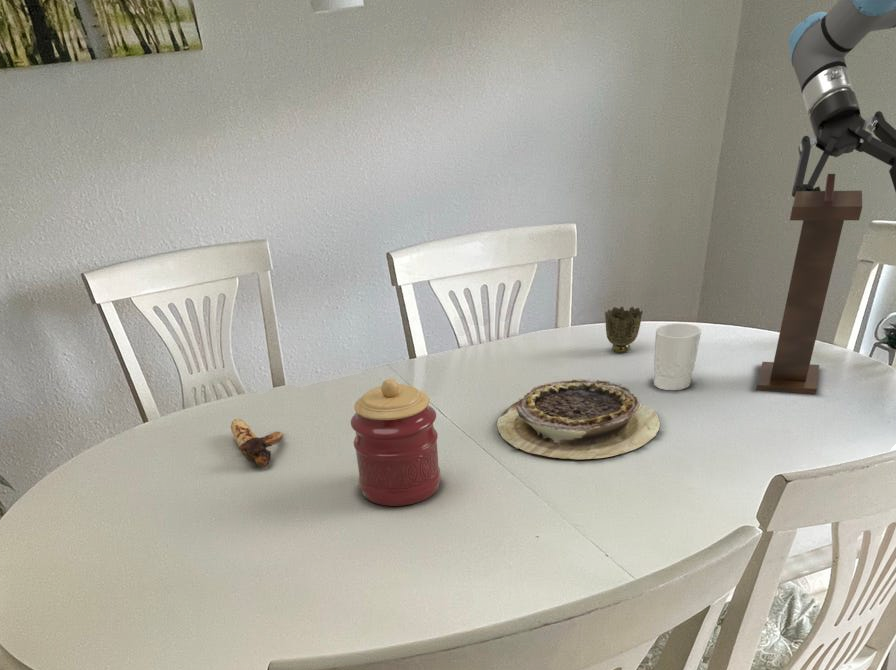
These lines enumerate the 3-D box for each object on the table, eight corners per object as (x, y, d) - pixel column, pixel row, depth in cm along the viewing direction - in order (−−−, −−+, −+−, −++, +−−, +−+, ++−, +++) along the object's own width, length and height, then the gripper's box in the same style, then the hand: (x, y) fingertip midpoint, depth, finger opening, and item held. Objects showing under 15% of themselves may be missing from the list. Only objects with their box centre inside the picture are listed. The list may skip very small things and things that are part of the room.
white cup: (642, 381, 150) (647, 328, 144) (677, 373, 152) (683, 320, 146) (666, 395, 144) (672, 340, 138) (702, 386, 146) (710, 331, 140)
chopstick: (833, 181, 136) (835, 173, 135) (830, 209, 121) (832, 200, 120) (826, 181, 136) (827, 173, 135) (822, 209, 121) (824, 200, 120)
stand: (818, 370, 148) (862, 190, 129) (815, 394, 139) (862, 206, 120) (761, 366, 151) (796, 191, 132) (756, 390, 143) (792, 206, 124)
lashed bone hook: (299, 463, 136) (271, 425, 148) (296, 438, 133) (267, 401, 145) (247, 475, 133) (223, 435, 146) (242, 450, 130) (218, 411, 143)
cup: (599, 355, 162) (601, 316, 157) (606, 344, 168) (609, 305, 163) (635, 358, 160) (639, 317, 155) (641, 345, 165) (645, 306, 160)
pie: (691, 432, 132) (695, 403, 128) (557, 477, 123) (558, 447, 120) (589, 383, 152) (591, 357, 149) (468, 419, 143) (467, 392, 140)
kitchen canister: (403, 461, 132) (392, 357, 121) (457, 484, 124) (452, 375, 113) (344, 491, 125) (327, 383, 114) (397, 516, 118) (385, 404, 107)
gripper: (765, 114, 139) (798, 223, 137) (913, 62, 135) (949, 174, 133) (755, 142, 147) (786, 246, 145) (895, 94, 142) (929, 200, 140)
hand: (864, 212), depth 139 cm, fingers open, 13 cm apart
